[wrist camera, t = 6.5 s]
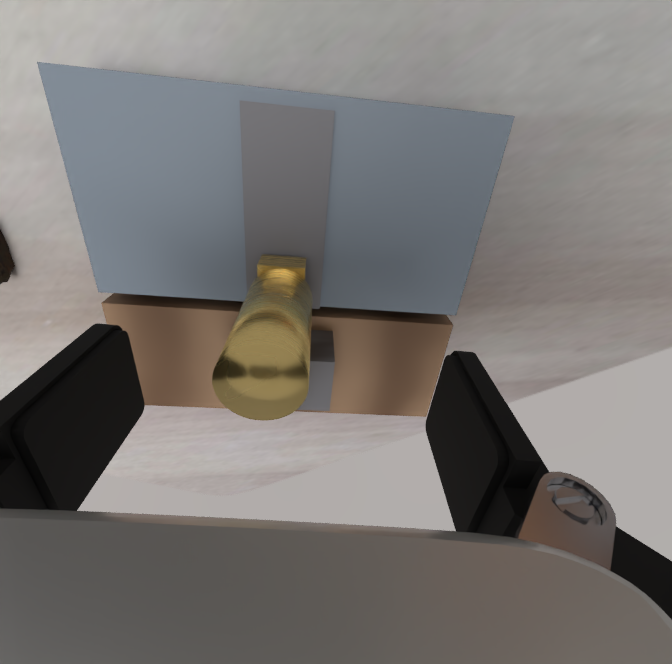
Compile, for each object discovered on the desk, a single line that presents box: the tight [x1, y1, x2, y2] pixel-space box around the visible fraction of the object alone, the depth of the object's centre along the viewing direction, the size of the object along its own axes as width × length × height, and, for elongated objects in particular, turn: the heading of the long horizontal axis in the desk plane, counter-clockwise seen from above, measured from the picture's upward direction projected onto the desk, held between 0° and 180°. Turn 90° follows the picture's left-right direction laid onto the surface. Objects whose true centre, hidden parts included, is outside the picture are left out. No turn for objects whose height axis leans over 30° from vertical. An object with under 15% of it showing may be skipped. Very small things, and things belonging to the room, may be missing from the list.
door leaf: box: [37, 62, 515, 315], centre depth 17 cm, size 18×9×4 cm, turn 85°
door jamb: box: [102, 293, 453, 417], centre depth 20 cm, size 18×7×7 cm, turn 85°
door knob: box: [212, 254, 313, 420], centre depth 14 cm, size 3×7×7 cm, turn 175°
